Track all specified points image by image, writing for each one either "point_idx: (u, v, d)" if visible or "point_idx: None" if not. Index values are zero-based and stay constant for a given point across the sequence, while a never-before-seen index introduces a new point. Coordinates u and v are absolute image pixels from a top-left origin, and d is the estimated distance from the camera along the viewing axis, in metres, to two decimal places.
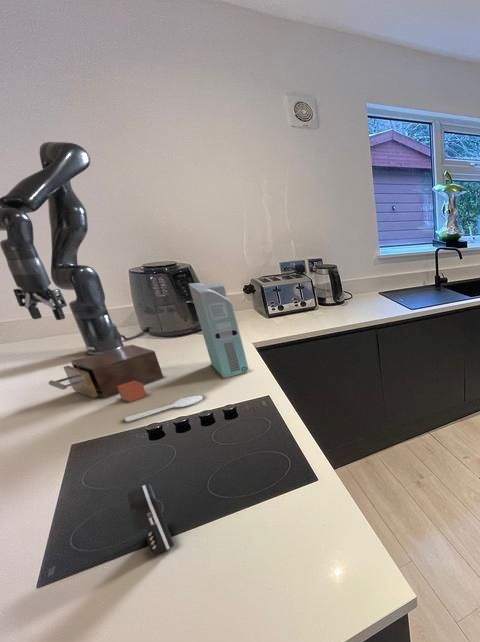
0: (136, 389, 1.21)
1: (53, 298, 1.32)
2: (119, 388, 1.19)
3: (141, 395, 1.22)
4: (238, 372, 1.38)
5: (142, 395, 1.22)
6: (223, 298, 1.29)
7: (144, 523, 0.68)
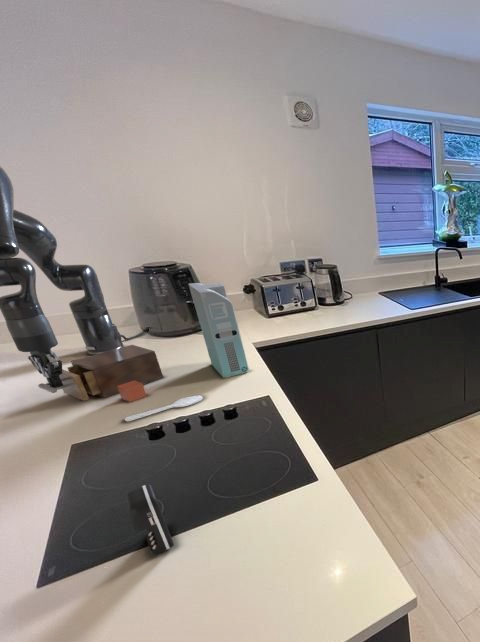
0: (136, 389, 1.21)
1: (49, 369, 1.11)
2: (119, 388, 1.19)
3: (141, 395, 1.22)
4: (238, 372, 1.38)
5: (142, 395, 1.22)
6: (223, 298, 1.29)
7: (144, 523, 0.68)
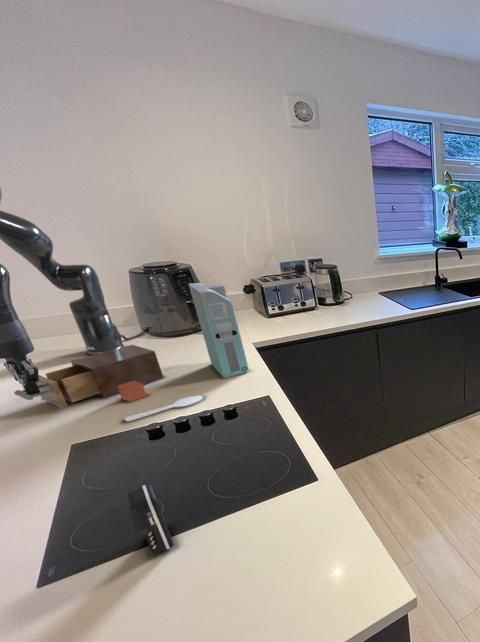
0: (136, 389, 1.21)
1: (24, 376, 1.07)
2: (119, 388, 1.19)
3: (141, 395, 1.22)
4: (238, 372, 1.38)
5: (142, 395, 1.22)
6: (223, 298, 1.29)
7: (144, 523, 0.68)
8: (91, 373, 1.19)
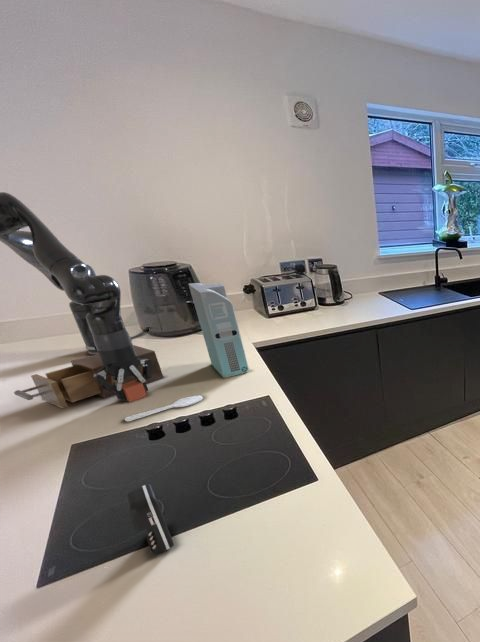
0: (136, 389, 1.21)
1: (149, 368, 1.24)
2: None
3: (141, 395, 1.22)
4: (238, 372, 1.38)
5: (142, 395, 1.22)
6: (223, 298, 1.29)
7: (144, 523, 0.68)
8: (91, 373, 1.19)
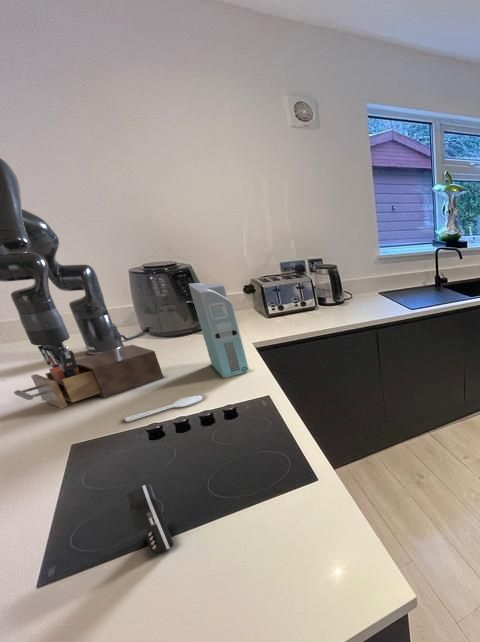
0: (55, 374, 1.15)
1: (62, 361, 1.12)
2: None
3: (59, 382, 1.16)
4: (238, 372, 1.38)
5: (60, 382, 1.16)
6: (223, 298, 1.29)
7: (144, 523, 0.68)
8: (91, 373, 1.19)
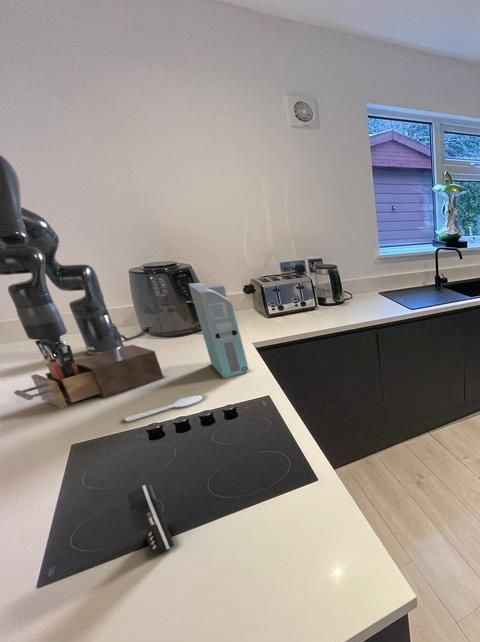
0: (52, 369, 1.14)
1: (59, 355, 1.12)
2: None
3: (56, 377, 1.15)
4: (238, 372, 1.38)
5: (57, 377, 1.15)
6: (223, 298, 1.29)
7: (144, 523, 0.68)
8: (91, 373, 1.19)
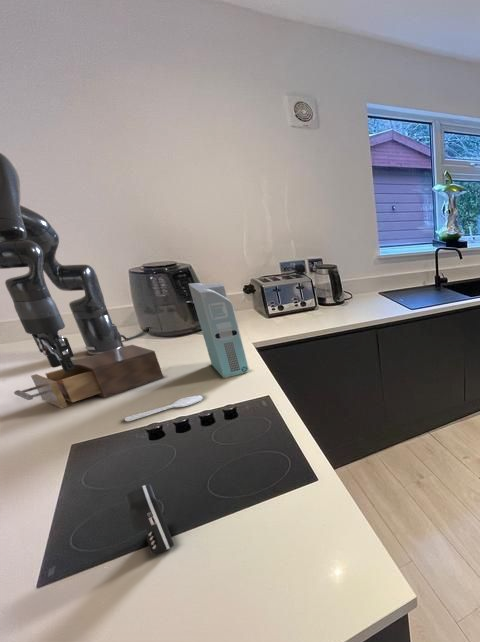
0: (61, 387, 1.17)
1: (57, 348, 1.11)
2: None
3: (65, 394, 1.17)
4: (238, 372, 1.38)
5: (65, 394, 1.17)
6: (223, 298, 1.29)
7: (144, 523, 0.68)
8: (91, 373, 1.19)
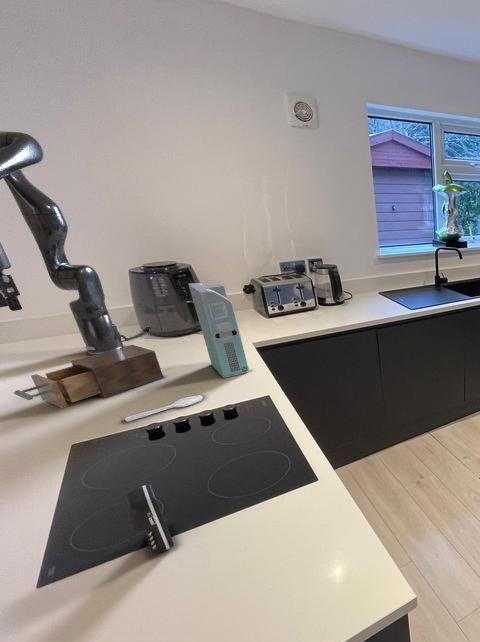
0: (61, 387, 1.17)
1: (1, 285, 1.11)
2: None
3: (65, 394, 1.17)
4: (238, 372, 1.38)
5: (65, 394, 1.17)
6: (223, 298, 1.29)
7: (144, 523, 0.68)
8: (91, 373, 1.19)
